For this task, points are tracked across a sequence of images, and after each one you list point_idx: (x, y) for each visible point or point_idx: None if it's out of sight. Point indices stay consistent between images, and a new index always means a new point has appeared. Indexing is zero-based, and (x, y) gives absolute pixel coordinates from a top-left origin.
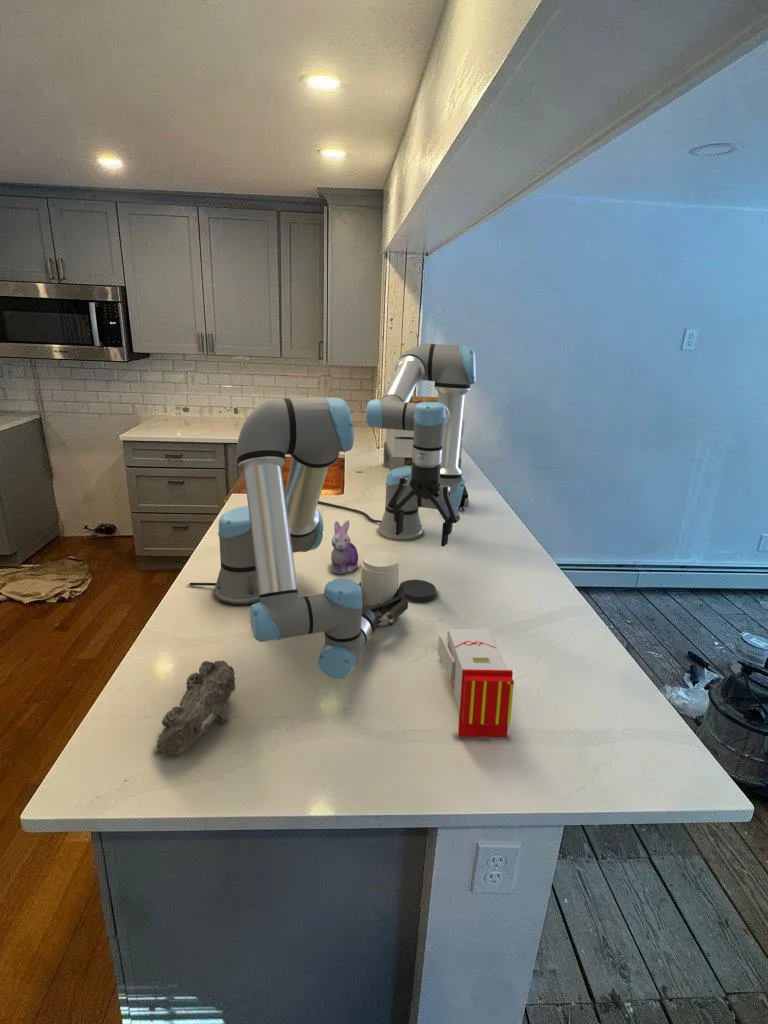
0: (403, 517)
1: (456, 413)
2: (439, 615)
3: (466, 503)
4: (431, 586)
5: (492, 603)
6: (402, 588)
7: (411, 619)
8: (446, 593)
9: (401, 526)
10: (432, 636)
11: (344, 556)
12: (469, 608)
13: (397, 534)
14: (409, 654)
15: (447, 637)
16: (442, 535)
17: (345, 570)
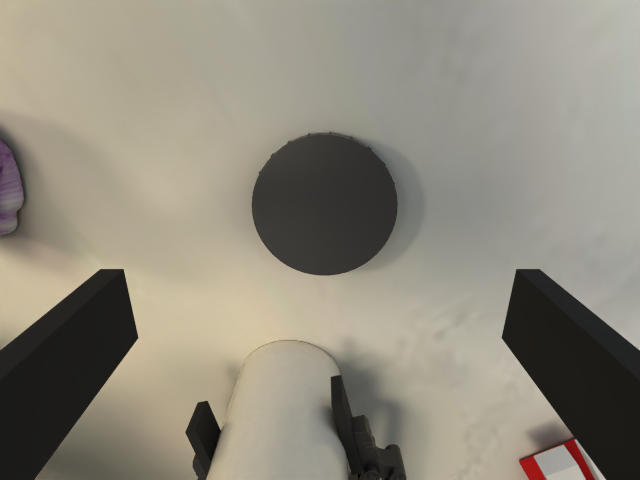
0: (28, 358)
1: None
2: (448, 294)
3: None
4: (366, 166)
5: (611, 114)
6: (347, 415)
7: (381, 353)
8: (421, 140)
9: (97, 330)
10: (465, 393)
11: None
12: (531, 200)
13: (130, 339)
14: (439, 472)
15: (536, 461)
16: (558, 406)
17: (9, 217)
